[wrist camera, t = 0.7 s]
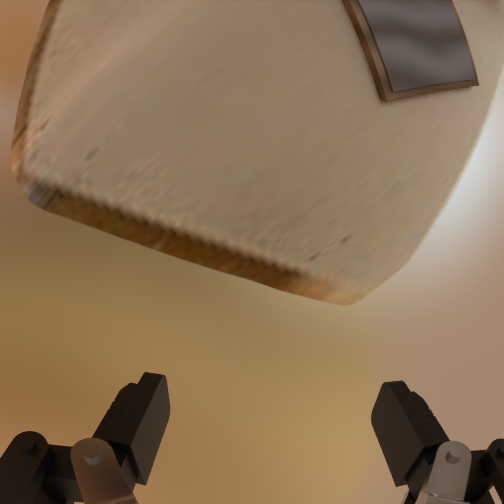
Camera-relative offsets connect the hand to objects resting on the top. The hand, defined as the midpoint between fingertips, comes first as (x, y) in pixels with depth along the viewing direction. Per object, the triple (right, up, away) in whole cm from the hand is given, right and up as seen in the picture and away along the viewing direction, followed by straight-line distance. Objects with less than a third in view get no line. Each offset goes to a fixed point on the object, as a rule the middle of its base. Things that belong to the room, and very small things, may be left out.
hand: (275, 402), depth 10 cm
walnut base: (+20, +34, +17) cm, 43 cm away
